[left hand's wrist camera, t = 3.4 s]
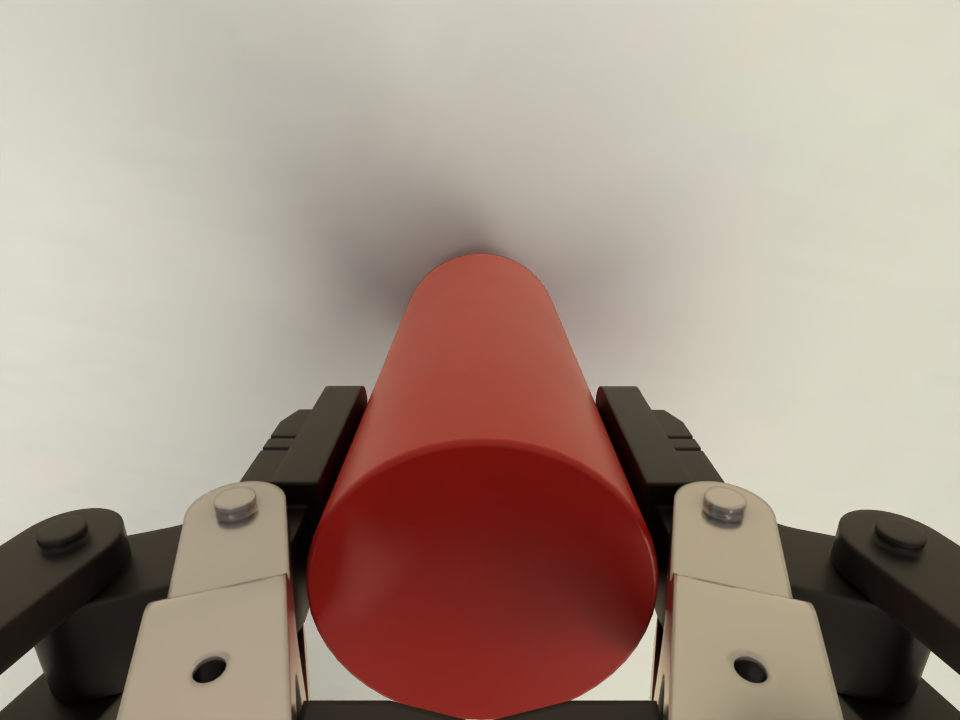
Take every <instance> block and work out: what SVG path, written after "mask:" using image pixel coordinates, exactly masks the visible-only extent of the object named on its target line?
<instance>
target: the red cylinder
mask: <svg viewBox="0 0 960 720" xmlns="http://www.w3.org/2000/svg"><path fill="white" fill-rule="evenodd" d="M658 577H659V573H658V563H657V555H656V551H655V548H654V544H653V541H652V537H651V535H650V533H649V530H648V528H647V525H646V523H645V521H644V518H643V516H642V514H641V511H640V509H639V506H638V504H637V502H636V499H635V497H634V495H633V492H632V490H631V487H630V485H629V483H628V480H627V478H626V476H625V473H624V471H623V468H622V466H621V464H620V461H619V459H618V457H617V454H616V452H615V450H614V447H613V445H612V442H611V440H610V438H609V435H608V433H607V431H606V428H605V426H604V423H603V421H602V419H601V416H600V414H599V412H598V409H597V407H596V404H595V402H594V400H593V397H592V395H591V393H590V390H589V388H588V386H587V383H586V381H585V378H584V376H583V374H582V371H581V369H580V367H579V364H578V362H577V359H576V357H575V355H574V352H573V350H572V348H571V345H570V343H569V340H568V338H567V336H566V333H565V331H564V329H563V326H562V324H561V321H560V319H559V317H558V314H557V312H556V310H555V307H554V305H553V303H552V300H551V298H550V296H549V294H548V292H547V290H546V289H545V287H544V286H543V284H542V283H541V282H540V281H539V279H538V278H537V277H536V276H535V275H534V274H533V273H532V272H530V271H529V270H528V269H527V268H525V267H524V266H522V265H521V264H519V263H517V262H515V261H513V260H511V259H508V258H505V257H502V256H497V255H492V254H470V255H465V256H460V257H457V258H454V259H451V260H449V261H447V262H445V263H443V264H441V265H439V266H438V267H436V268H435V269H433V270H432V271H431V272H430V273H429V274H428V275H427V276H425V278H424V279H423V280H422V281H421V282H420V283H419V285H418V286H417V288H416V289H415V291H414V293H413V295H412V297H411V299H410V301H409V304H408V306H407V309H406V311H405V313H404V316H403V318H402V321H401V323H400V326H399V328H398V331H397V333H396V335H395V338H394V340H393V343H392V345H391V348H390V350H389V353H388V355H387V357H386V360H385V362H384V365H383V367H382V370H381V372H380V375H379V377H378V379H377V382H376V384H375V387H374V389H373V392H372V394H371V397H370V399H369V402H368V404H367V406H366V409H365V411H364V414H363V416H362V419H361V421H360V424H359V426H358V428H357V431H356V433H355V436H354V438H353V441H352V443H351V446H350V448H349V450H348V453H347V455H346V458H345V460H344V463H343V465H342V468H341V470H340V472H339V475H338V477H337V480H336V482H335V485H334V487H333V490H332V492H331V494H330V497H329V499H328V502H327V504H326V507H325V509H324V512H323V514H322V516H321V519H320V521H319V524H318V526H317V529H316V531H315V534H314V536H313V539H312V543H311V546H310V549H309V553H308V558H307V567H306V590H307V596H308V601H309V606H310V610H311V614H312V617H313V619H314V622H315V624H316V627H317V630H318V632H319V633H320V635H321V637H322V639H323V640H324V642H325V644H326V646H327V647H328V648H329V650H330V651H331V652H332V653H333V655H334V656H335V657H336V659H337V660H338V661H339V662H340V663H341V664H342V665H343V666H344V667H345V668H346V669H347V670H348V671H349V672H350V673H351V674H352V675H354V676H355V677H356V678H357V679H359V680H360V681H361V682H363V683H364V684H365V685H366V686H368V687H370V688H371V689H373V690H375V691H376V692H378V693H380V694H381V695H383V696H385V697H387V698H389V699H391V700H393V701H396V702H398V703H402V704H406V705H410V706H414V707H418V708H422V709H426V710H430V711H434V712H437V713H441V714H445V715H449V716H453V717H457V718H461V719H478V720H485V719H499V718H503V717H507V716H511V715H515V714H519V713H523V712H526V711H530V710H534V709H538V708H542V707H546V706H550V705H554V704H558V703H562V702H566V701H570V700H573V699H575V698H577V697H579V696H581V695H583V694H584V693H586V692H588V691H589V690H591V689H593V688H594V687H596V686H597V685H599V684H600V683H601V682H603V681H604V680H605V679H606V678H608V677H609V676H610V675H612V674H613V673H614V672H615V671H616V670H617V669H618V668H619V667H620V666H621V665H622V664H623V663H624V662H625V661H626V660H627V658H628V657H629V656H630V655H631V653H632V652H633V651H634V650H635V648H636V647H637V646H638V644H639V642H640V640H641V639H642V637H643V635H644V634H645V632H646V630H647V627H648V625H649V622H650V620H651V617H652V615H653V611H654V607H655V602H656V598H657V593H658Z"/></svg>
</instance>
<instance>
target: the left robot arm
mask: <svg viewBox="0 0 960 720" xmlns="http://www.w3.org/2000/svg"><path fill="white" fill-rule="evenodd" d="M366 406H367V394H366V390H365V387H364V386H326V387H325V389H324V391H323V392H322V394H321V396H320V397H319V399H318V401H317V402H316V404H315V406H314V407H313V409H312V410H298V411H296V412H295V413H293V414H292V415H290V416H289V417H287V418H286V419H284V420H282V421H281V422H280V423H279V425H278V426H277V428H276V429H275V431H274V432H273V434H272V435H271V439H269V440H268V441H267V442H266V444H265V445H264V447H263V451H260V453H259V454H258V456H257V457H256V459H255V460H254V462H253V463H252V465H251V466H250V467H249V469H248V470H247V472H246V473H245V475H244V476H243V478H242V479H241V481H240V482H238V483H233V484H229V485H225V486H222V487H219V488H217V489H214V490H212V491H210V492H208V493H206V494H205V495H203V496H201V497H200V498H199V499H197V500H196V501H195V502H194V503H193V504H192V505H191V506H190V507H189V508H188V510H187V511H186V514H185V517H184V522H183V524H182V525H179V526H174V527H170V528H165V529H160V530H155V531H150V532H145V533H139V534H134V535H129V536H127V534H126V530H125V526H124V522H123V519H122V517H121V516H120V515H119V514H118V513H116V512H114V511H112V510H108V509H102V508H89V509H80V510H75V511H70V512H66V513H63V514H59V515H56V516H53V517H51V518H48V519H46V520H43V521H41V522H39V523H37V524H35V525H33V526H31V527H30V528H28V529H26V530H25V531H23V532H21V533H20V534H18V535H17V536H15V537H14V538H12V539H11V540H9V541H7V542H6V543H4V544H3V545H1V546H0V675H1V674H2V673H3V672H4V671H6V670H7V669H8V668H9V667H10V666H11V665H13V664H14V663H15V662H16V661H17V660H19V659H20V658H21V657H22V656H23V655H25V654H26V653H27V652H28V651H29V650H31V649H32V648H33V647H34V648H35V650H36V653H37V656H38V658H39V661H40V664H41V667H42V669H43V672H44V673H43V674H42V675H41V676H40V677H39V678H37V679H36V680H35V681H34V682H33V683H32V684H31V685H30V686H28V687H27V688H26V689H25V690H24V691H23V692H22V693H21V694H20V695H18V696H17V697H16V698H15V699H14V700H13V701H12V702H11V703H9V704H8V705H7V706H6V707H5V708H4V709H3V710H2V711H0V720H465V719H461V718H457V717H453V716H449V715H445V714H441V713H437V712H434V711H430V710H426V709H422V708H418V707H414V706H410V705H406V704H402V703H398V702H394V701H310V688H309V675H308V662H307V649H306V637H305V630H304V622H305V619H306V616H307V613H308V611H309V608H310V606H309V601H308V596H307V590H306V567H307V558H308V553H309V549H310V546H311V543H312V539H313V536H314V534H315V531H316V529H317V526H318V524H319V521H320V519H321V516H322V514H323V512H324V509H325V507H326V504H327V502H328V499H329V497H330V494H331V492H332V490H333V487H334V485H335V482H336V480H337V477H338V475H339V472H340V470H341V468H342V465H343V463H344V460H345V458H346V455H347V453H348V450H349V448H350V446H351V443H352V441H353V438H354V436H355V433H356V431H357V428H358V426H359V424H360V421H361V419H362V416H363V414H364V411H365V409H366ZM596 407H597V409H598V412H599V414H600V416H601V419H602V421H603V423H604V426H605V428H606V431H607V433H608V435H609V438H610V440H611V442H612V445H613V447H614V450H615V452H616V454H617V457H618V459H619V461H620V464H621V466H622V468H623V471H624V473H625V476H626V478H627V480H628V483H629V485H630V487H631V490H632V492H633V495H634V497H635V499H636V502H637V504H638V506H639V509H640V511H641V514H642V516H643V518H644V521H645V523H646V525H647V528H648V530H649V533H650V535H651V537H652V541H653V544H654V548H655V551H656V555H657V563H658V573H659V577H658V593H657V598H656V602H655V607H654V608H655V611H656V613H657V623H656V630H655V637H654V649H653V662H652V675H651V688H650V701H566V702H562V703H558V704H554V705H550V706H546V707H542V708H538V709H534V710H530V711H526V712H523V713H519V714H515V715H511V716H507V717H503V718H499V719H495V720H960V711H958V710H957V709H956V708H955V707H954V706H953V705H952V704H951V703H949V702H948V701H947V700H946V699H945V698H944V697H943V696H942V695H941V694H939V693H938V692H937V691H936V690H935V689H934V688H933V687H932V686H930V685H929V684H928V683H927V682H926V681H925V680H924V679H923V678H921V676H922V673H923V670H924V668H925V665H926V662H927V660H928V657H929V654H930V652H931V651H932V652H933V653H934V654H935V655H937V656H938V657H939V658H940V659H941V660H943V661H944V662H945V663H946V664H947V665H949V666H950V667H951V668H952V669H953V670H954V671H956V672H957V673H958V674H959V675H960V546H959V545H957V544H956V543H954V542H953V541H951V540H949V539H948V538H946V537H945V536H943V535H942V534H940V533H939V532H937V531H935V530H933V529H932V528H930V527H928V526H926V525H924V524H922V523H920V522H918V521H915V520H913V519H910V518H907V517H904V516H901V515H898V514H894V513H890V512H885V511H878V510H857V511H852V512H849V513H847V514H845V515H844V516H843V517H842V518H841V519H840V522H839V525H838V529H837V532H836V536H831V535H826V534H821V533H816V532H811V531H806V530H801V529H795V528H791V527H787V526H783V525H780V524H777V522H776V517H775V514H774V511H773V510H772V508H771V507H770V506H769V505H768V504H767V503H766V502H765V501H764V500H763V499H761V498H760V497H759V496H757V495H755V494H754V493H752V492H750V491H748V490H746V489H743V488H741V487H738V486H735V485H731V484H727V483H724V481H723V480H722V478H721V477H720V475H719V474H718V472H717V471H716V469H715V468H714V467H713V465H712V464H711V462H710V461H709V459H708V458H707V456H706V455H705V454H704V452H703V451H701V448H700V446H699V445H698V443H697V442H696V441H695V439H693V436H692V435H691V433H690V432H689V430H688V429H687V427H686V426H685V425H684V423H683V422H682V421H680V420H679V419H677V418H676V417H674V416H672V415H671V414H669V413H668V412H666V411H665V410H651V409H650V407H649V405H648V404H647V402H646V400H645V399H644V397H643V395H642V394H641V392H640V390H639V389H638V388H637V387H636V386H600V387H599V388H598V391H597V395H596Z"/></svg>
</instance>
